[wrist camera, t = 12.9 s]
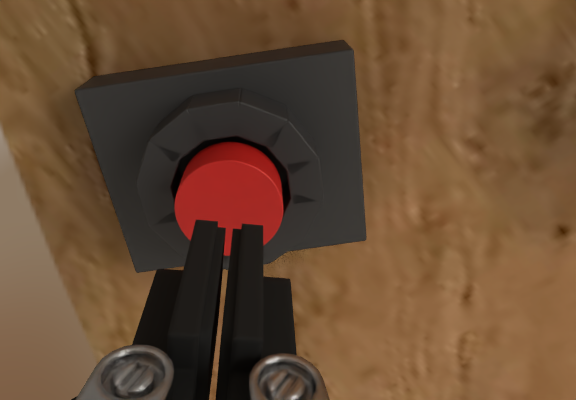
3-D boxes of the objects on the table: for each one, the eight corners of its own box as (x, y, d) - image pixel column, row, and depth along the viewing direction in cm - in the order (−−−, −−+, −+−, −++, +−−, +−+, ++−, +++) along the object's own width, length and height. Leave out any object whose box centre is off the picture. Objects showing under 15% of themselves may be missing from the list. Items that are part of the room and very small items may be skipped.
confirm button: (273, 134, 17) (275, 152, 15) (287, 223, 18) (290, 248, 17) (171, 149, 17) (162, 169, 15) (194, 236, 18) (188, 263, 17)
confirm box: (344, 39, 19) (363, 58, 15) (357, 216, 22) (376, 265, 19) (92, 76, 19) (53, 104, 15) (146, 246, 22) (125, 300, 19)
